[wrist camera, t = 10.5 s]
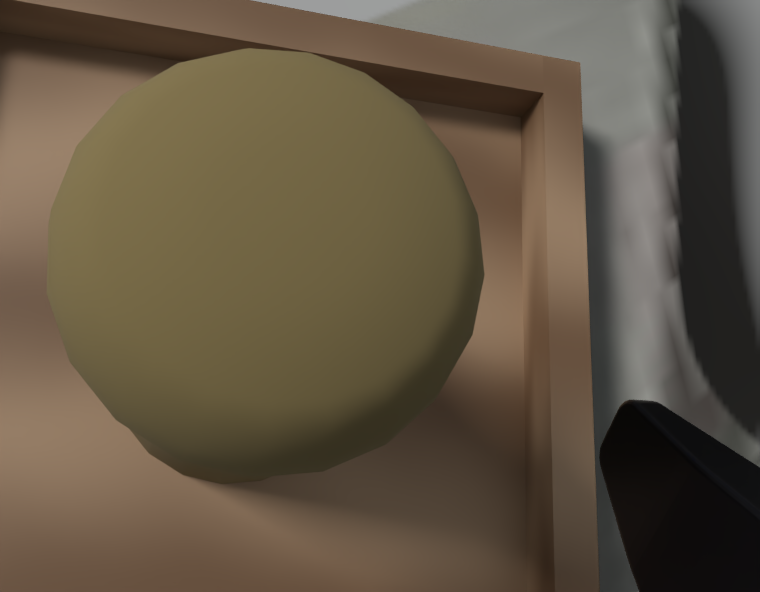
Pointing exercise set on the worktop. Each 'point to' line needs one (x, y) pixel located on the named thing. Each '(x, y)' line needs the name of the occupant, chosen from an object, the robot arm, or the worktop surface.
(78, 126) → the walnut tray
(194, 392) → the cork
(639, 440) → the robot arm
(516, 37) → the worktop surface
